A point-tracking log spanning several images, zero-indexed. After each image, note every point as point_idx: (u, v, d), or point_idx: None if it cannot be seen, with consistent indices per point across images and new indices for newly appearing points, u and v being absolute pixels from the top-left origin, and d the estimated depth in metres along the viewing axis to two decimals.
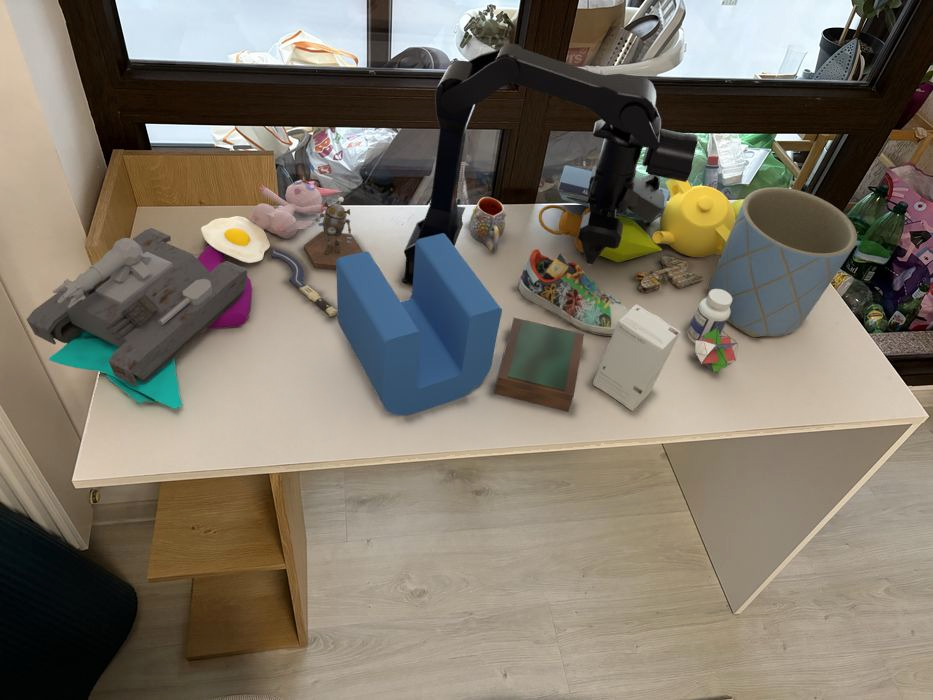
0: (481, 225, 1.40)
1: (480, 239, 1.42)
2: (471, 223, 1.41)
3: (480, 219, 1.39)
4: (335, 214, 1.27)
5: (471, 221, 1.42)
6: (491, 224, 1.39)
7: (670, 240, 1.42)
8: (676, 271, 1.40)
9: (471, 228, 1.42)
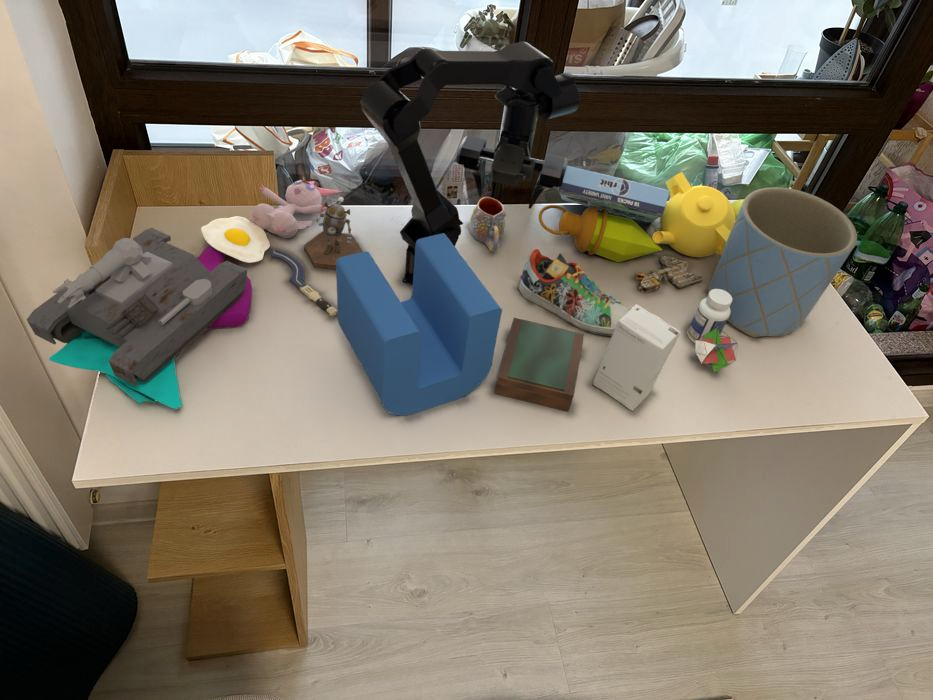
0: (481, 225, 1.40)
1: (480, 239, 1.42)
2: (471, 223, 1.41)
3: (480, 219, 1.39)
4: (335, 214, 1.27)
5: (471, 221, 1.42)
6: (491, 224, 1.39)
7: (670, 240, 1.42)
8: (676, 271, 1.40)
9: (471, 228, 1.42)
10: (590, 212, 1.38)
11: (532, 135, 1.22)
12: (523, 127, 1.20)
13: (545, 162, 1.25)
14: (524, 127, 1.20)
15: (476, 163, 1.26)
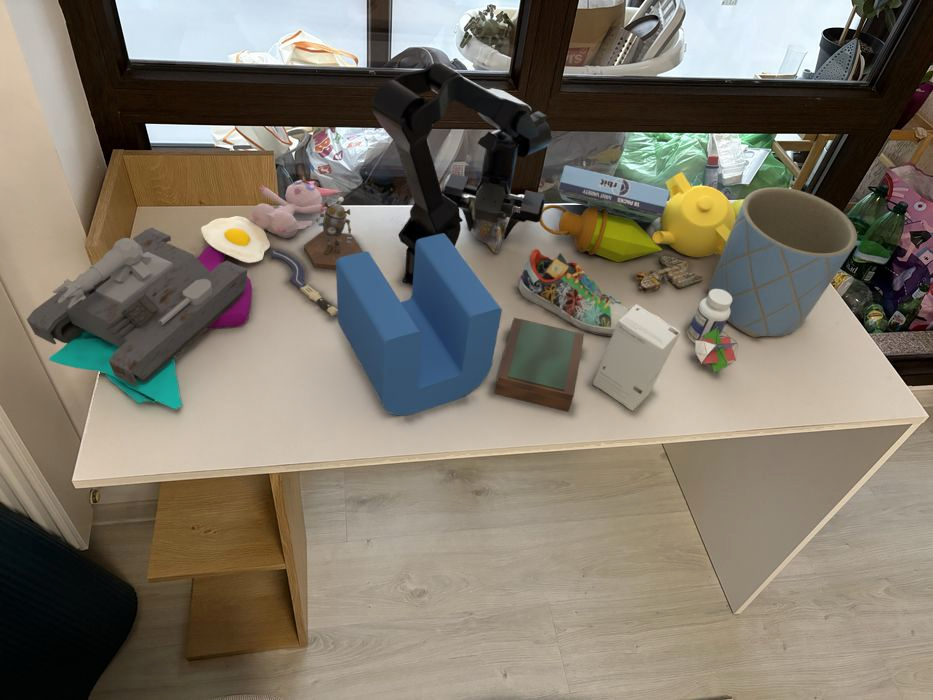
0: (483, 225, 1.39)
1: (482, 239, 1.42)
2: (473, 224, 1.41)
3: (482, 220, 1.39)
4: (335, 214, 1.27)
5: (473, 222, 1.41)
6: (493, 224, 1.39)
7: (670, 240, 1.42)
8: (676, 271, 1.40)
9: (473, 229, 1.42)
10: (590, 212, 1.38)
11: (512, 175, 1.30)
12: (505, 168, 1.28)
13: (524, 199, 1.33)
14: (506, 168, 1.28)
15: (459, 200, 1.34)
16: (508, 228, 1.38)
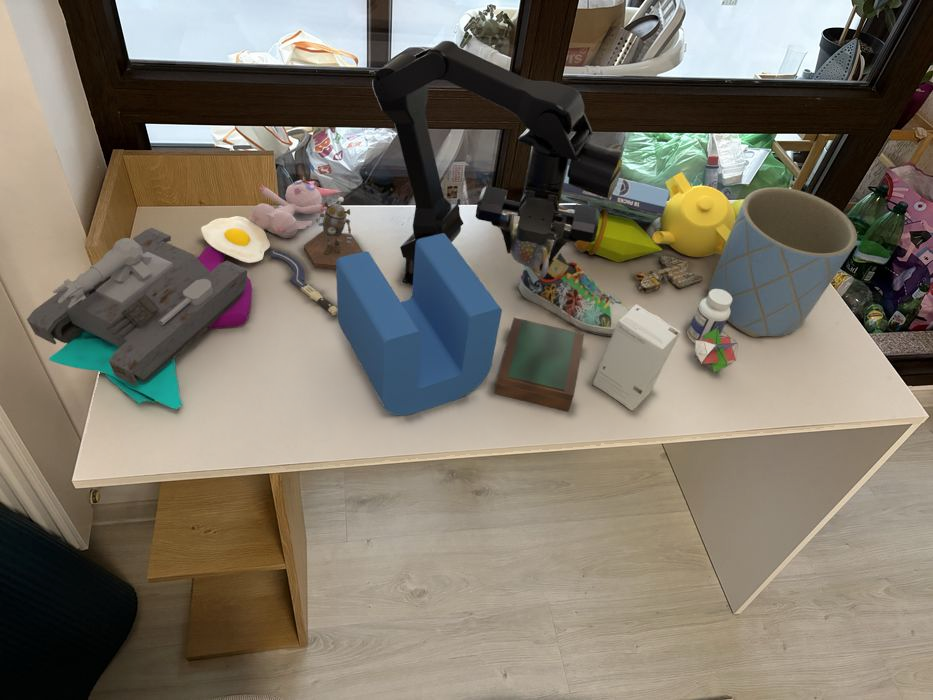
0: (525, 246, 1.18)
1: (524, 262, 1.20)
2: (512, 244, 1.20)
3: None
4: (335, 214, 1.27)
5: (512, 242, 1.20)
6: (537, 245, 1.17)
7: (670, 240, 1.42)
8: (676, 271, 1.40)
9: (512, 250, 1.20)
10: None
11: (562, 187, 1.09)
12: (533, 174, 1.07)
13: (575, 215, 1.12)
14: (534, 174, 1.07)
15: (498, 218, 1.13)
16: (555, 249, 1.17)
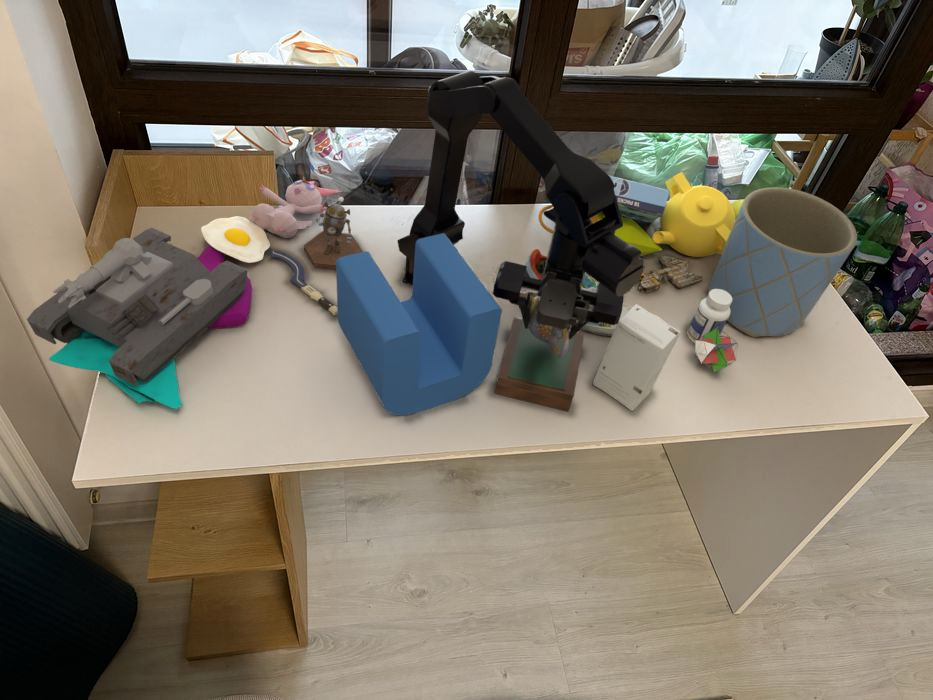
0: None
1: (542, 339, 1.14)
2: (531, 319, 1.14)
3: None
4: (335, 214, 1.27)
5: (530, 317, 1.14)
6: None
7: (670, 240, 1.42)
8: (676, 271, 1.40)
9: (530, 325, 1.14)
10: None
11: None
12: (551, 251, 1.02)
13: (598, 296, 1.06)
14: (552, 252, 1.01)
15: (517, 297, 1.07)
16: (575, 328, 1.11)
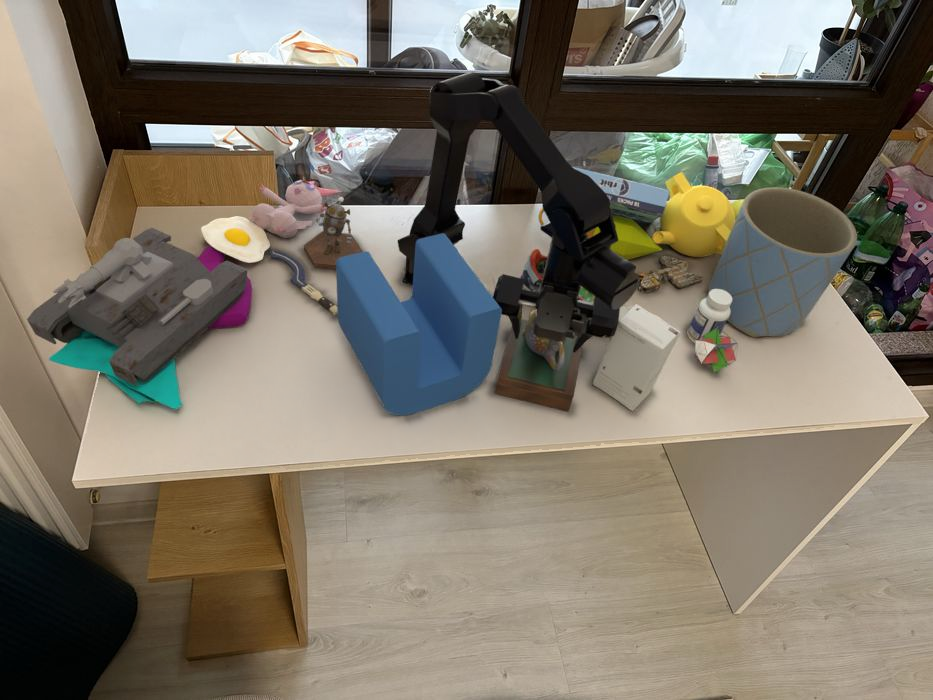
0: None
1: (538, 352, 1.17)
2: (527, 333, 1.16)
3: None
4: (335, 214, 1.27)
5: (527, 331, 1.16)
6: None
7: (670, 240, 1.42)
8: (676, 271, 1.40)
9: (527, 339, 1.17)
10: None
11: None
12: (548, 265, 1.03)
13: (595, 308, 1.08)
14: (548, 266, 1.03)
15: (515, 310, 1.08)
16: (580, 341, 1.13)
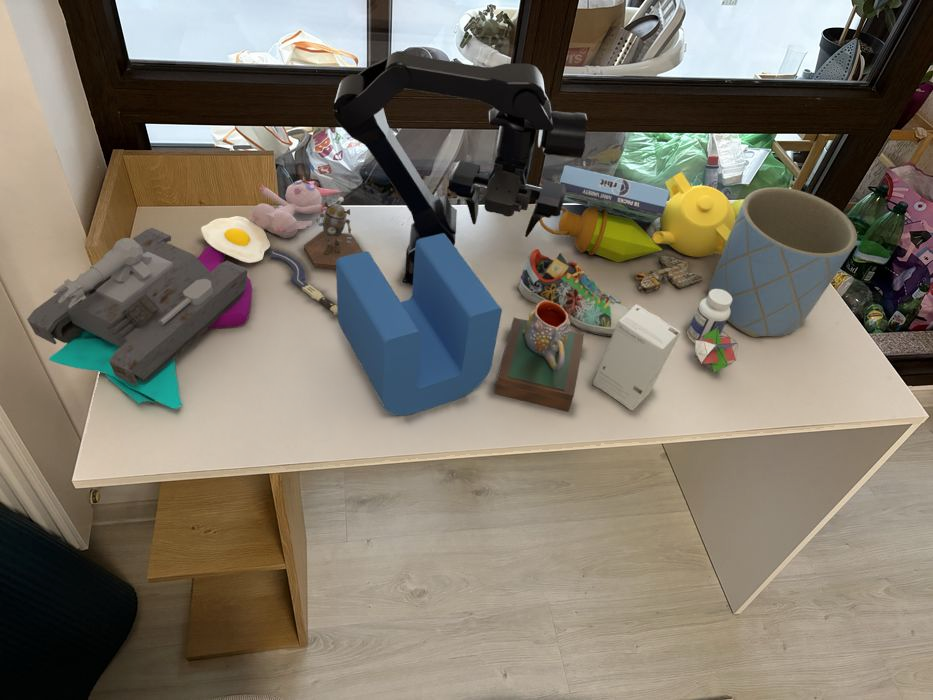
0: (541, 337, 1.14)
1: (538, 352, 1.17)
2: (527, 333, 1.16)
3: (539, 330, 1.14)
4: (335, 214, 1.27)
5: (527, 331, 1.16)
6: (553, 337, 1.14)
7: (670, 240, 1.42)
8: (676, 271, 1.40)
9: (527, 339, 1.17)
10: (590, 212, 1.38)
11: (529, 162, 1.15)
12: (508, 152, 1.13)
13: (542, 190, 1.18)
14: (509, 152, 1.13)
15: (469, 190, 1.19)
16: (530, 224, 1.23)
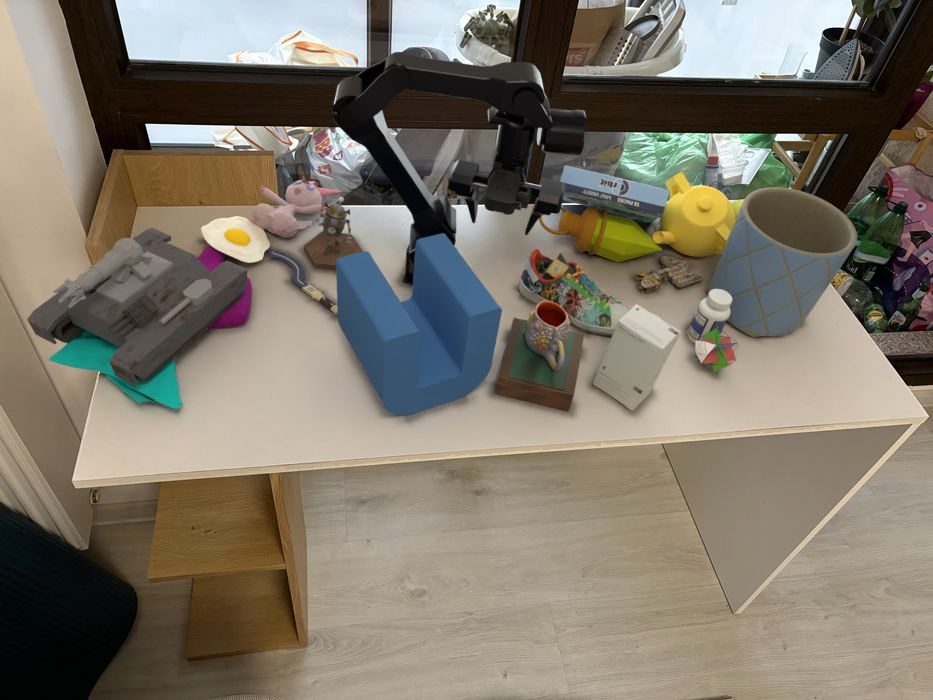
0: (541, 337, 1.14)
1: (538, 352, 1.17)
2: (527, 333, 1.16)
3: (539, 330, 1.14)
4: (335, 214, 1.27)
5: (527, 331, 1.16)
6: (553, 337, 1.14)
7: (670, 240, 1.42)
8: (676, 271, 1.40)
9: (527, 339, 1.17)
10: (590, 212, 1.38)
11: (528, 160, 1.15)
12: (507, 150, 1.13)
13: (542, 187, 1.18)
14: (508, 151, 1.13)
15: (469, 189, 1.19)
16: (530, 222, 1.23)
